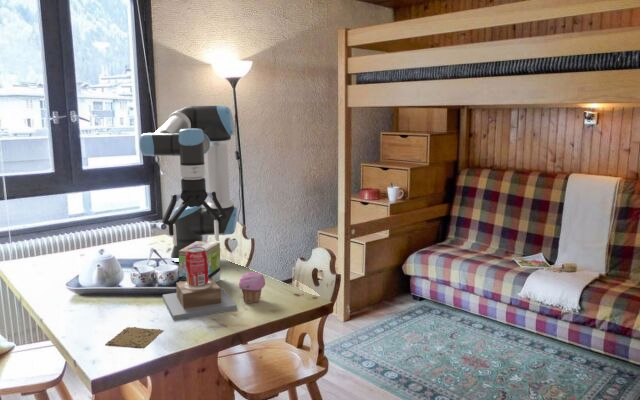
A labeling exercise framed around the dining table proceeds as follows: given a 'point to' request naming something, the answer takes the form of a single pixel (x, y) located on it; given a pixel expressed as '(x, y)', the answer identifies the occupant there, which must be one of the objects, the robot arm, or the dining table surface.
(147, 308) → the dining table surface
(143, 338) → the brown flat square slab
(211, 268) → the tea box
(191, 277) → the soda can
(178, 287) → the block
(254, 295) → the cupcake
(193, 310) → the base board
